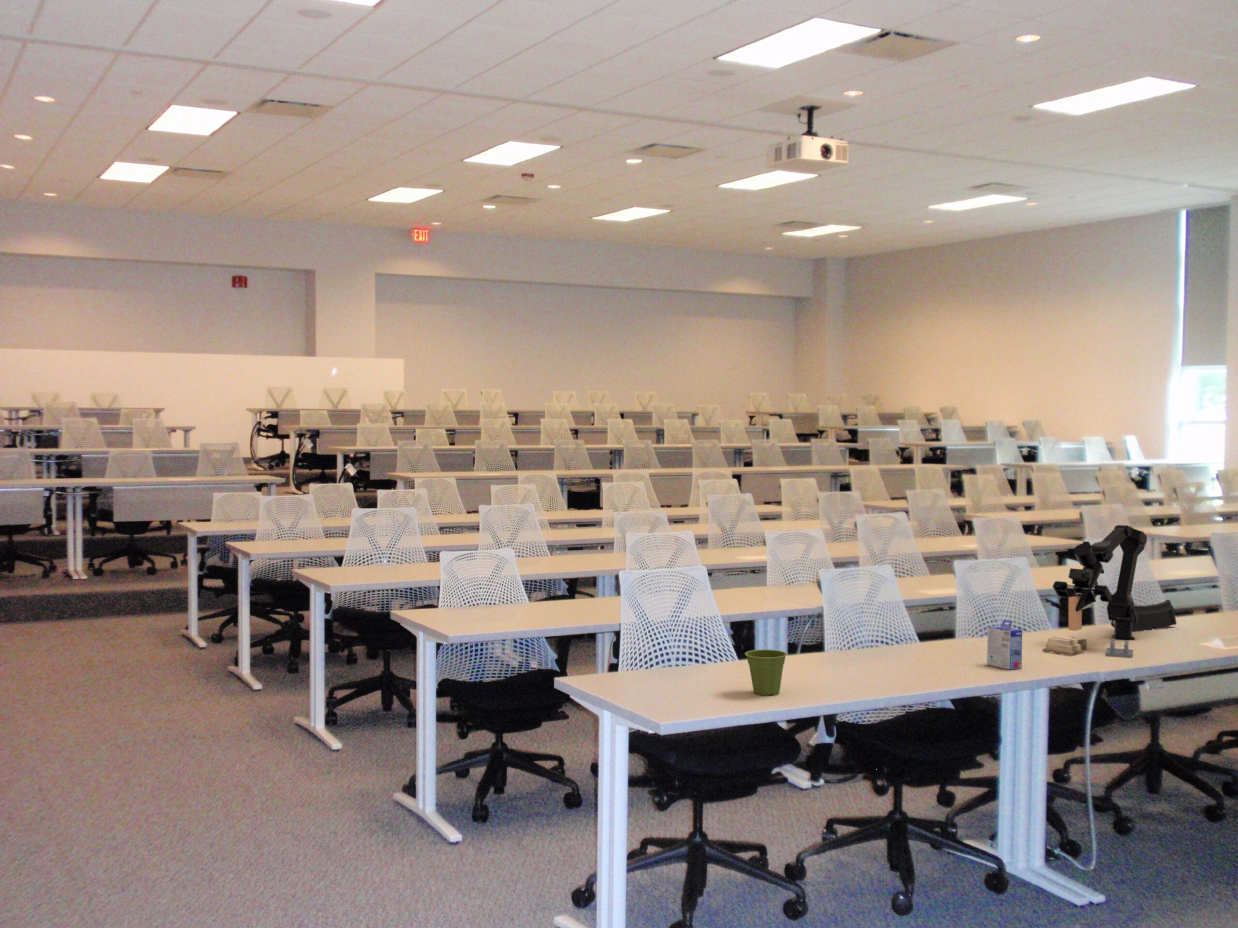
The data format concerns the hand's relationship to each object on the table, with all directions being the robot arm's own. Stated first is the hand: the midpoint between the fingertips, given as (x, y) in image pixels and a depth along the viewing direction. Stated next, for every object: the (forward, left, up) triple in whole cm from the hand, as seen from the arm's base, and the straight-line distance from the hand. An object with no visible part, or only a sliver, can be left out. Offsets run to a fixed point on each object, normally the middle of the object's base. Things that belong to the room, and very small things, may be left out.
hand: (1073, 610), depth 383 cm
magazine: (-47, +35, -14) cm, 60 cm away
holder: (+6, +13, -13) cm, 20 cm away
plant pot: (+82, -99, -14) cm, 129 cm away
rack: (+2, -2, -13) cm, 14 cm away
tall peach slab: (-1, +1, -7) cm, 7 cm away
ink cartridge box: (+33, -27, -14) cm, 45 cm away
